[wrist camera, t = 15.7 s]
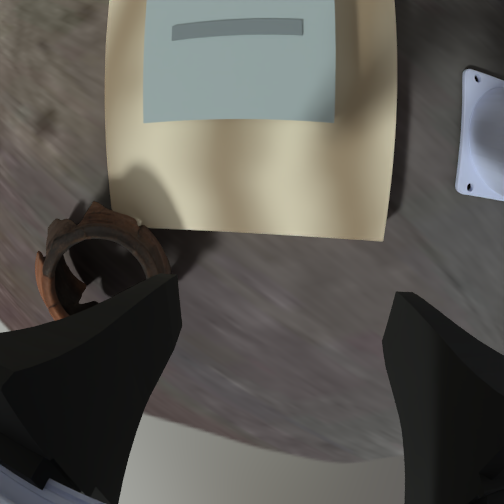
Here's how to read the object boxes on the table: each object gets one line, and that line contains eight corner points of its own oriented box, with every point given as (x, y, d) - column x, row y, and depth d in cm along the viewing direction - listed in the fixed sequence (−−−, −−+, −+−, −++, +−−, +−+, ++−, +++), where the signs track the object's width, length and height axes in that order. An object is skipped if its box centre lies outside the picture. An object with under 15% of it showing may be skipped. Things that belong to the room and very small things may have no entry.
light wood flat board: (366, -115, 8) (370, -129, 7) (375, 229, 19) (383, 241, 17) (143, -104, 10) (132, -115, 8) (128, 216, 21) (113, 226, 19)
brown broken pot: (58, 184, 21) (29, 197, 13) (173, 206, 25) (196, 228, 18) (45, 325, 23) (27, 384, 16) (147, 340, 27) (161, 400, 20)
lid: (329, -33, 11) (332, -46, 10) (330, 122, 15) (334, 123, 13) (161, -24, 12) (149, -34, 11) (156, 122, 16) (142, 123, 14)
